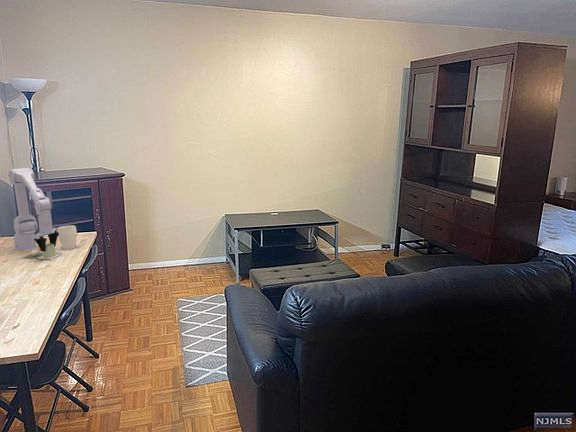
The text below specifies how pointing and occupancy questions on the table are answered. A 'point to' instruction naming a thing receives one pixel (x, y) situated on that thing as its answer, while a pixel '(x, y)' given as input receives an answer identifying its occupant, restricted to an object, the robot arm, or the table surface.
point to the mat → (40, 256)
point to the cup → (67, 236)
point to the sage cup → (49, 251)
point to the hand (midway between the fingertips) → (48, 248)
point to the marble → (34, 253)
